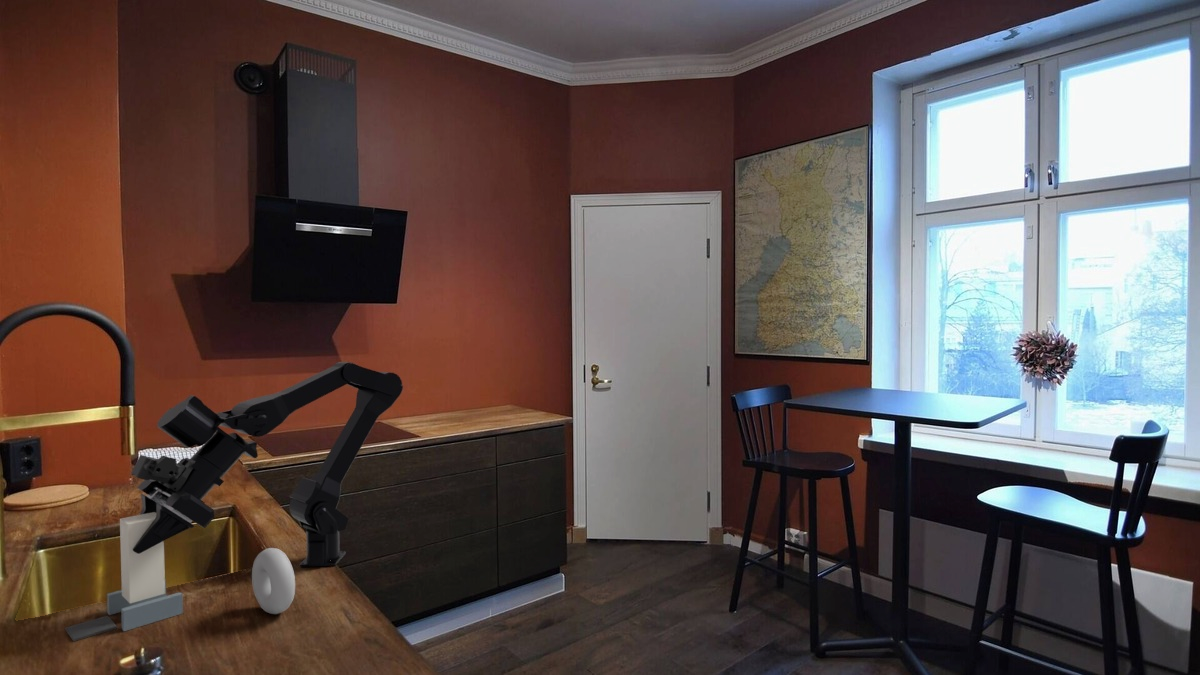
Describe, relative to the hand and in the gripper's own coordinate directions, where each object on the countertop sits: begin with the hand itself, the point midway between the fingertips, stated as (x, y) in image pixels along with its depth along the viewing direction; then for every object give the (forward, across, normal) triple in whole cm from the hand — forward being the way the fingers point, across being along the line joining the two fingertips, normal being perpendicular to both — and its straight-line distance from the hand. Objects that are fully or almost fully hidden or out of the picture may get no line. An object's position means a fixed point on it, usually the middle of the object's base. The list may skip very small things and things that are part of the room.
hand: (130, 548), depth 96 cm
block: (+4, 0, +6) cm, 8 cm away
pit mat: (+11, 0, +4) cm, 12 cm away
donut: (-3, +15, +18) cm, 24 cm away
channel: (+6, 0, +9) cm, 11 cm away
